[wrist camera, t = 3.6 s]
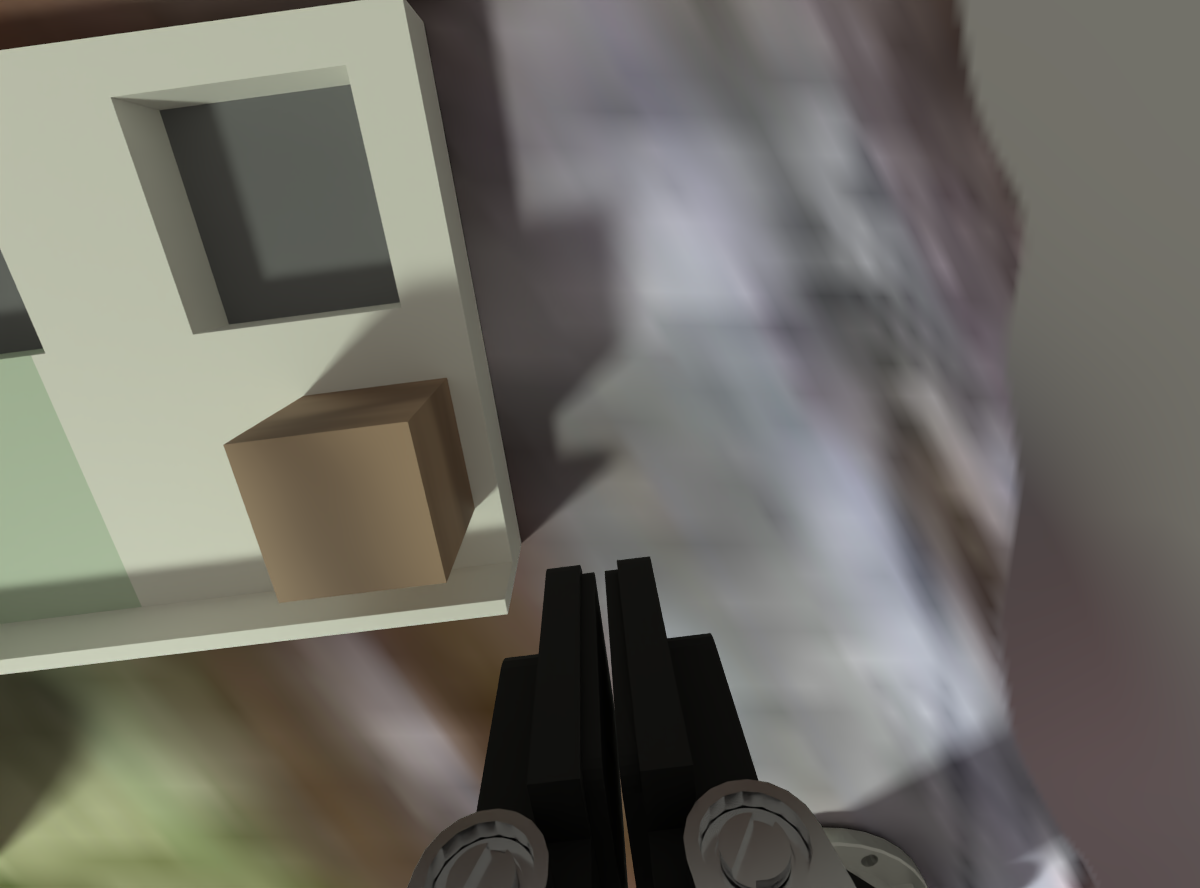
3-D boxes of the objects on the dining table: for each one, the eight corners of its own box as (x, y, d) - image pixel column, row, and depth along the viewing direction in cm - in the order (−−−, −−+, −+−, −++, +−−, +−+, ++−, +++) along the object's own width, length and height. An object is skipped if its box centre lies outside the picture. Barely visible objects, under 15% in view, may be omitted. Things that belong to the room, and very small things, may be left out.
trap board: (423, 22, 20) (373, -42, 15) (521, 543, 26) (507, 613, 21) (-271, 117, 20) (-533, 84, 15) (-7, 608, 26) (-135, 690, 22)
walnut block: (447, 377, 21) (407, 421, 16) (474, 508, 23) (446, 582, 18) (303, 395, 21) (223, 444, 16) (341, 525, 23) (278, 603, 18)
